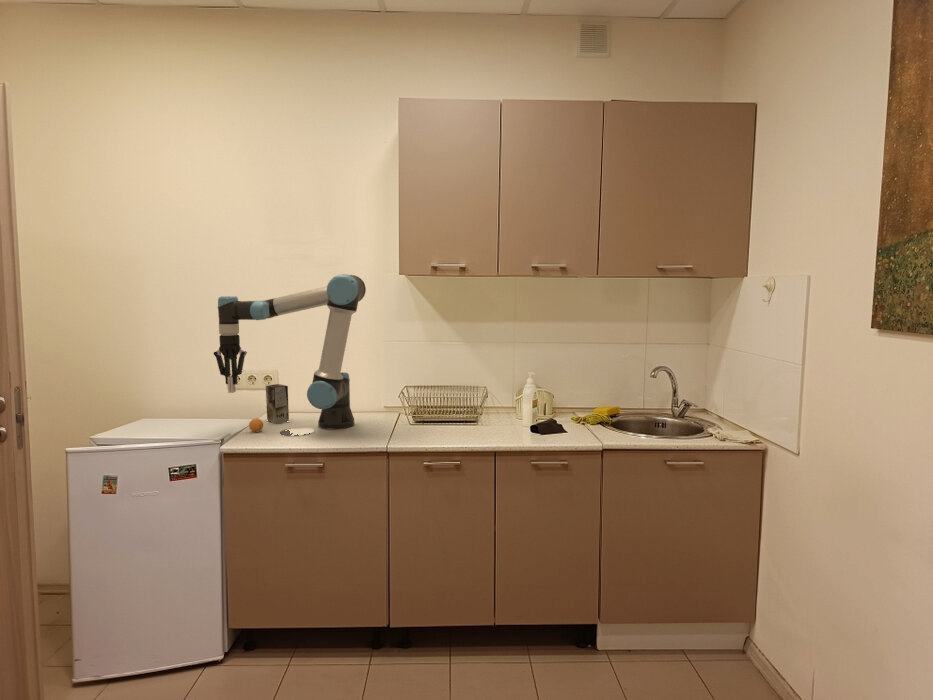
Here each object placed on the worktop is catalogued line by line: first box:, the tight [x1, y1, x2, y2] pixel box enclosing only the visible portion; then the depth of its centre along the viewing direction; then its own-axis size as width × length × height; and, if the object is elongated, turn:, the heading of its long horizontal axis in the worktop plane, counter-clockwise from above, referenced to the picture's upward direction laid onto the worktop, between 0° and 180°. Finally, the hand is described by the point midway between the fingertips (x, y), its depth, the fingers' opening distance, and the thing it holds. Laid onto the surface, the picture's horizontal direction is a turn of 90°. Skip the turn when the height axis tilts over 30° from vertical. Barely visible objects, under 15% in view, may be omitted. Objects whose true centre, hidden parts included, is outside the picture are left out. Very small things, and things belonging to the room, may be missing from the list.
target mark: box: [279, 428, 311, 437], centre depth 238 cm, size 14×14×1 cm
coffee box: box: [265, 383, 290, 424], centre depth 257 cm, size 9×6×16 cm
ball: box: [248, 417, 264, 433], centre depth 238 cm, size 6×6×6 cm
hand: (231, 392), depth 237 cm, fingers closed
